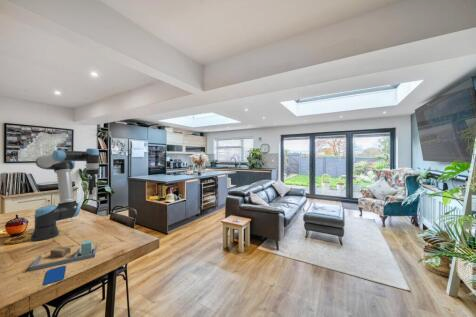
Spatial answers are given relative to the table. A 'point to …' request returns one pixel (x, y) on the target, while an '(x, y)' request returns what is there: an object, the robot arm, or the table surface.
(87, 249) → the teal block
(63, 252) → the walnut block
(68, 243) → the table surface
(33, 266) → the slot rack
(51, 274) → the smartphone
